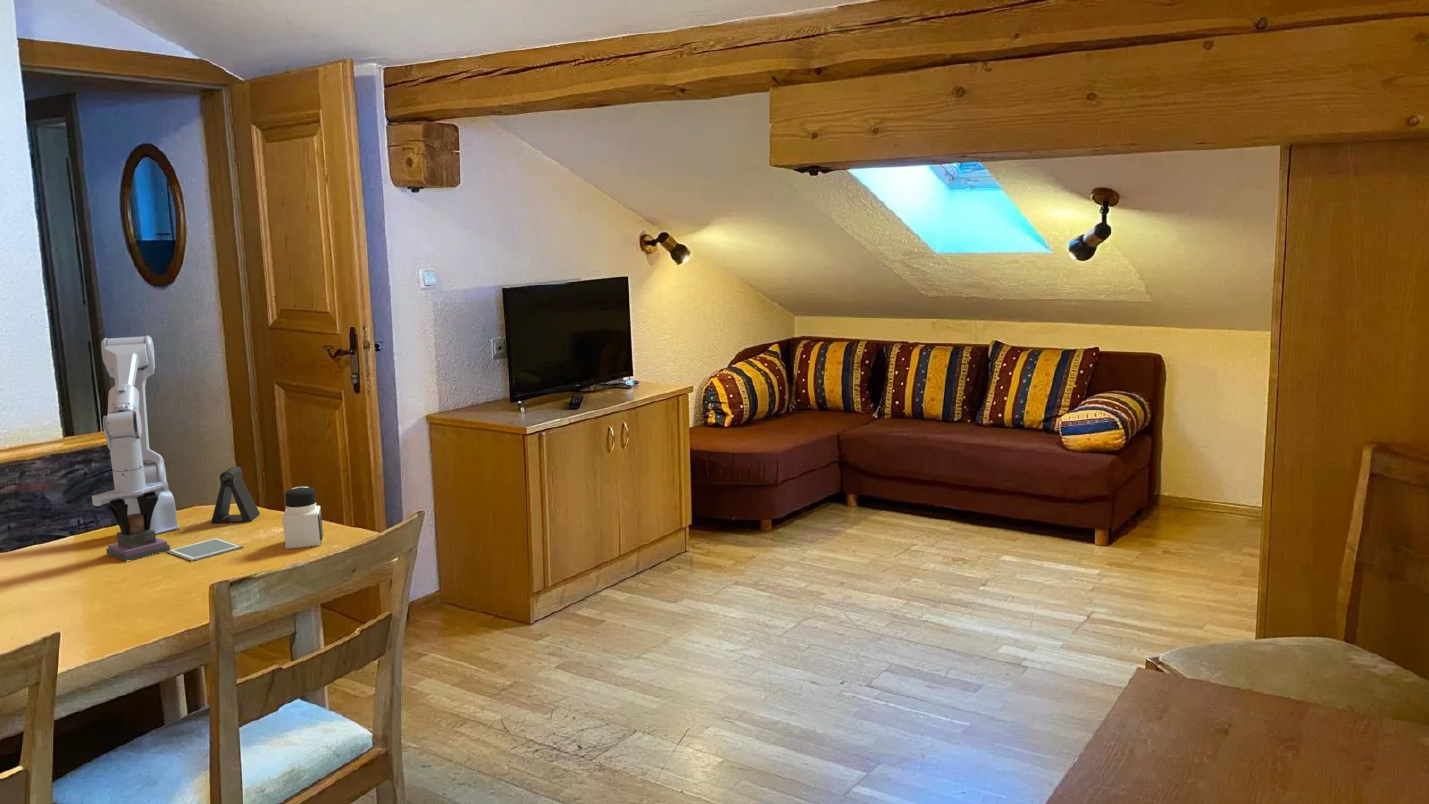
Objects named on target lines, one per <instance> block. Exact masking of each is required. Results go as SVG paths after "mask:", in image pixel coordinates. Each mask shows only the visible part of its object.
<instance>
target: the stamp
mask: <svg viewBox="0 0 1429 804" xmlns="http://www.w3.org/2000/svg"><path fill="white" fill-rule="evenodd" d="M127 516H128V525H129V534H128V535H125V534H122V533H121V531H118V532H116V539H117V540H116V541H117V543H118V544H119V545H122V546H125V547H129V548H132V549H133V548H137V547H141V546H144V545H148V544H152V543H156V538H157V536H156V534H155V531H153V530H150V529H149V530H146V529H145V524H144V516H143V514H141V513H137V514H130V515H127Z"/></svg>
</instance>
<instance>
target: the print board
mask: <svg viewBox="0 0 1429 804" xmlns="http://www.w3.org/2000/svg"><path fill="white" fill-rule="evenodd" d="M243 548H244V545H243V546H242V545H241V544H237V543H234V542H231V541H228V540H225V539H222V538H219V537H214V538H211V539H207V540H203V541H200V542H195V543H192V544H188V545H184V546H180V547H177V548H172V549H170V550H168V551H166V552H165V553H167V552H169V553H168V554H170V553H172V554H174V555H173V556H175V555H177V556H176V557H178V556H179V557H178V558H180V557H181V559H183V558H184V559H183V560H186V561H188V560H190V561H189V562H191V561H192V562H195V561H194V560H196V561H198V560H203V559H207V558H211V557H215V556H218V555H221V554H225V553H229V552H230V553H231V552H233V551H236V550H237V551H238V550H240V549H243ZM172 554H171V555H172Z"/></svg>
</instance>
